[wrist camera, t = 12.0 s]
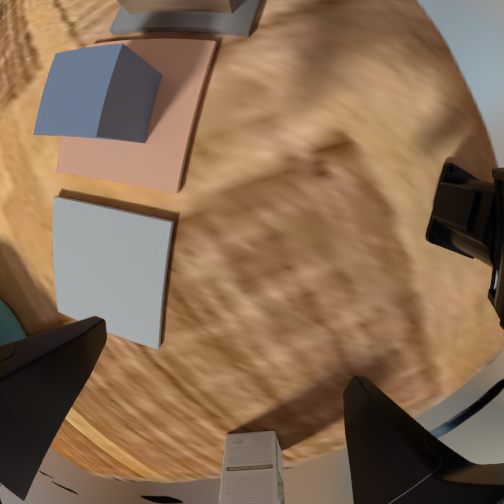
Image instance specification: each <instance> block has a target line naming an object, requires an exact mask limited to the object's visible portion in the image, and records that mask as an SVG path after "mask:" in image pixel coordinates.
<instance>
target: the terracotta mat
mask: <svg viewBox="0 0 504 504" xmlns="http://www.w3.org/2000/svg"><path fill="white" fill-rule="evenodd" d="M121 43H123V44H125V45H126V46H127V47H128V48H130V49H131V50H132V51H134V52H135V53H136V54H137V55H139V56H140V57H141V58H142V59H144V60H145V61H146V62H147V63H148V64H150V65H151V66H152V67H153V68H155V69H156V70H157V71H158V72H159V73H161V74H162V79H161V82H160V85H159V89H158V92H157V96H156V99H155V103H154V107H153V111H152V115H151V119H150V123H149V127H148V132H147V136H146V141H145V144H144V143H136V142H127V141H117V140H106V139H93V138H81V137H67V136H61V142H60V148H59V154H58V161H57V169H56V173H62V174H69V175H76V176H82V177H89V178H95V179H101V180H107V181H113V182H118V183H124V184H130V185H135V186H141V187H146V188H151V189H156V190H162V191H167V192H172V193H179V191H180V186H181V180H182V175H183V170H184V166H185V161H186V156H187V152H188V147H189V143H190V139H191V134H192V130H193V126H194V122H195V118H196V114H197V110H198V107H199V103H200V99H201V95H202V92H203V88H204V85H205V81H206V78H207V75H208V71H209V68H210V65H211V62H212V58H213V55H214V52H215V49H216V46H217V43H216V41H209V40H196V39H135V40H122V41H112V42H103V43H96V44H89V45H87V47H86V48H88V47H95V46H102V45H111V44H121Z"/></svg>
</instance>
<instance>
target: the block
mask: <svg viewBox="0 0 504 504" xmlns="http://www.w3.org/2000/svg"><path fill="white" fill-rule="evenodd" d="M161 79H162V74H161V73H159V72H158V71H157V70H156V69H155V68H153V67H152V66H151V65H150V64H148V63H147V62H146V61H145V60H144V59H142V58H141V57H140V56H139V55H137V54H136V53H135V52H134V51H132V50H131V49H130V48H128V47H127V46H126V45H125V44H123V43H121V44H111V45H102V46H95V47H88V48H82V49H76V50H71V51H66V52H62V53H57V54H55V57H54V60H53V62H52V65H51V68H50V71H49V74H48V78H47V81H46V84H45V88H44V91H43V95H42V99H41V103H40V107H39V111H38V116H37V120H36V125H35V131H34V135H49V136H67V137H81V138H93V139H106V140H117V141H127V142H136V143H144V144H145V141H146V136H147V132H148V127H149V123H150V119H151V115H152V111H153V107H154V103H155V99H156V96H157V92H158V89H159V85H160V82H161Z"/></svg>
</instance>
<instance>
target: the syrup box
mask: <svg viewBox="0 0 504 504" xmlns="http://www.w3.org/2000/svg"><path fill="white" fill-rule="evenodd" d="M219 504H284V483H283V464H282V451H281V448H280V445H279V442H278V438H277V435H276V432H275V431H261V432H249V433H235V434H227V436H226V444H225V451H224V459H223V468H222V477H221V487H220V497H219Z"/></svg>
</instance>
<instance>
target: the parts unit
mask: <svg viewBox="0 0 504 504" xmlns="http://www.w3.org/2000/svg"><path fill="white" fill-rule="evenodd" d="M117 1H118V2H119V3H120V4H121V7H120V9H119V11H118V13H117V15H116V17H115V19H114V21H113V23H112V26H111V28H110V30H109V31H110V32H111V33H112V34H123V33H134V32H152V31H190V32H208V33H219V34H229V35H237V36H244V37H249V35H250V32H251V29H252V26H253V23H254V20H255V17H256V14H257V11H258V8H259V5H260V2H261V0H117Z"/></svg>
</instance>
